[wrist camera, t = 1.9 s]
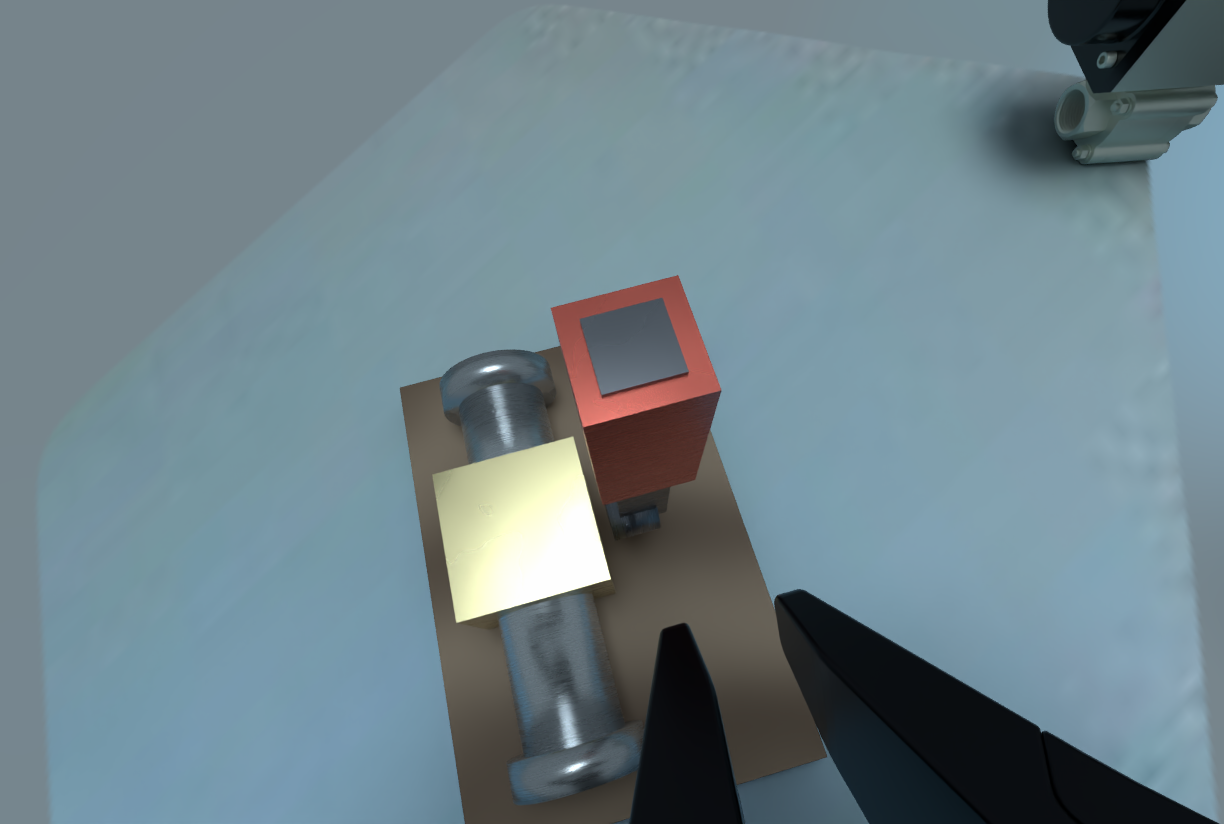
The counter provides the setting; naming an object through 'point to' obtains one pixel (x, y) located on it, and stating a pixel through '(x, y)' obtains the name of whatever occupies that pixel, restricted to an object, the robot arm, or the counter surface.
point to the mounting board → (616, 625)
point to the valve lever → (639, 395)
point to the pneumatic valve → (1137, 73)
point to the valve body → (533, 574)
